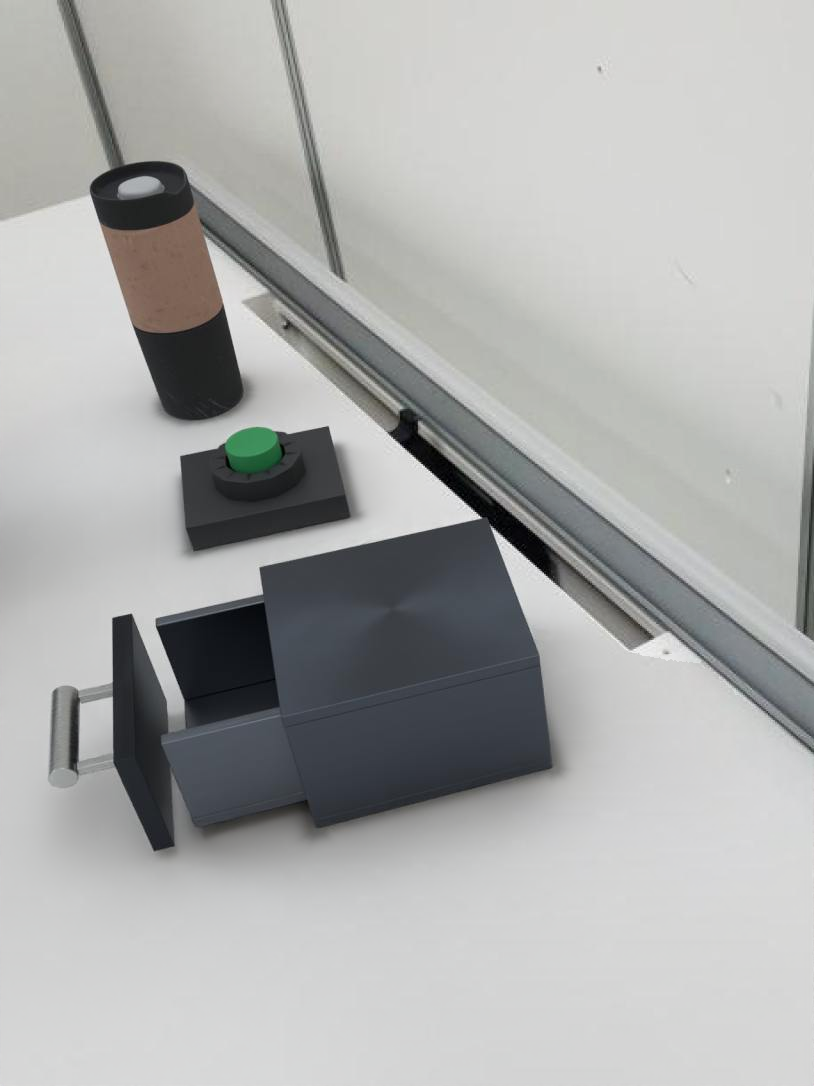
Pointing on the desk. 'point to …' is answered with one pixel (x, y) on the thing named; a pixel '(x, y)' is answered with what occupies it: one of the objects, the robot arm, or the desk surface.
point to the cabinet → (404, 670)
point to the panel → (262, 491)
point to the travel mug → (169, 286)
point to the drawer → (188, 721)
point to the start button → (253, 450)
